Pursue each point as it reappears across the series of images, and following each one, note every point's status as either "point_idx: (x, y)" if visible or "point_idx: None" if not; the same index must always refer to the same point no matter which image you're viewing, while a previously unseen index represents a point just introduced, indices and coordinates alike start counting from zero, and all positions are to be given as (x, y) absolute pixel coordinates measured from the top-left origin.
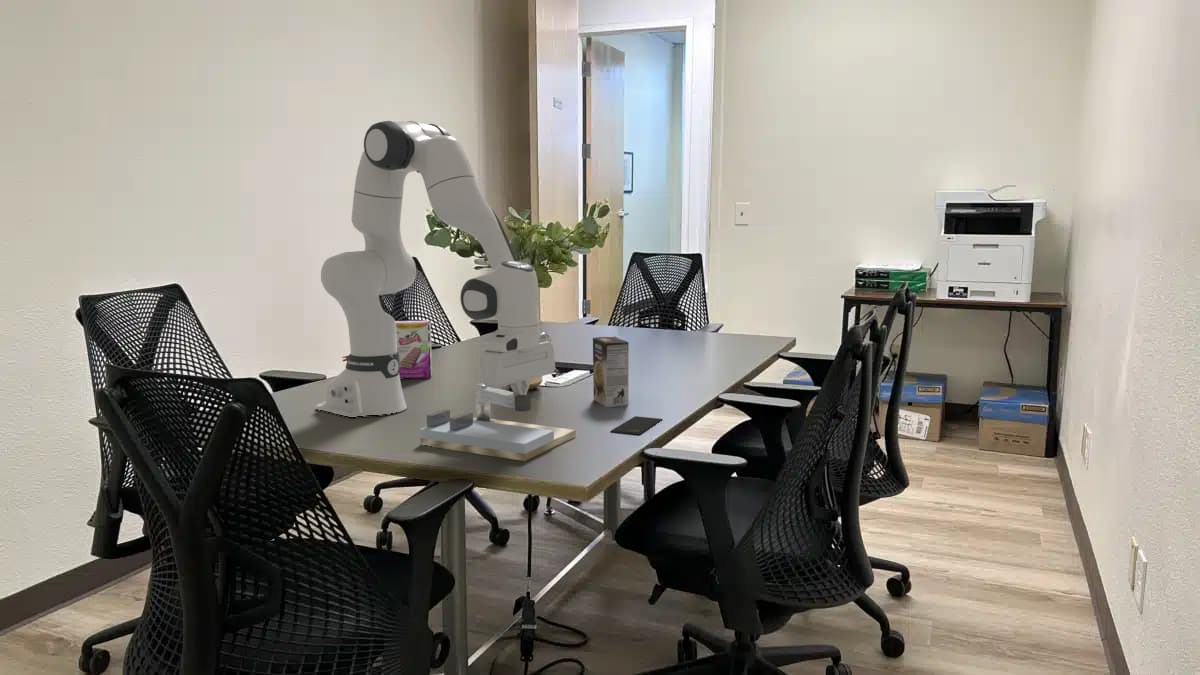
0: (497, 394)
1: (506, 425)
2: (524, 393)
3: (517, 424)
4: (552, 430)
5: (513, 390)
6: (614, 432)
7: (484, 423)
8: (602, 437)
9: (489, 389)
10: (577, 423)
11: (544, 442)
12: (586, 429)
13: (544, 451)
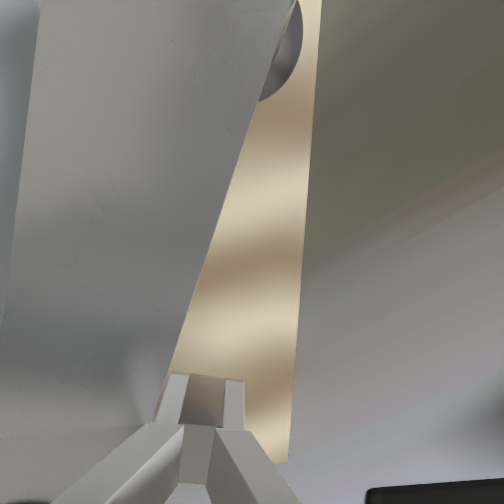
0: (16, 291)
1: None
2: (203, 479)
3: (268, 245)
4: (246, 409)
5: (117, 455)
6: (367, 502)
7: None
8: (309, 494)
9: (125, 41)
10: (451, 371)
11: None
12: (381, 427)
13: None
